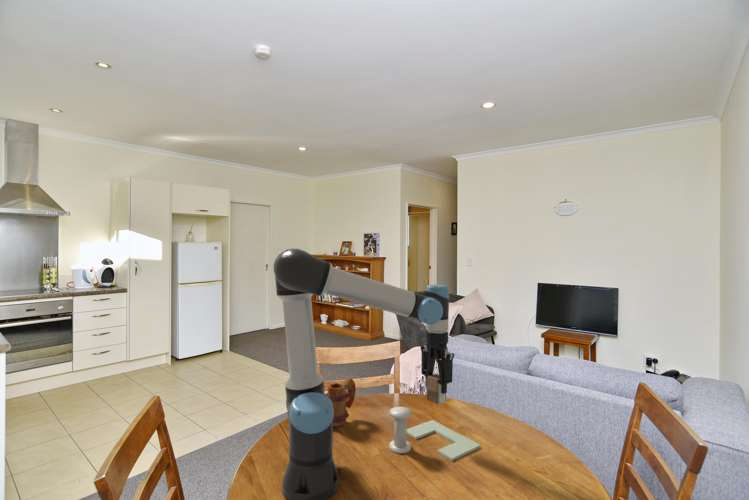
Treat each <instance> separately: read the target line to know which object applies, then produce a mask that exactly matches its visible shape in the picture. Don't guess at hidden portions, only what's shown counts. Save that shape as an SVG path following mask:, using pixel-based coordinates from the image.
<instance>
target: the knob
mask: <svg viewBox="0 0 749 500" xmlns="http://www.w3.org/2000/svg"><path fill="white" fill-rule="evenodd" d="M389 415H390V417H391V418H394V425H393V426H394V429H393V430H394V431H393V432H394V433H393V436H394V437H393V440H392V441H389V444H388V445H389V446H388V447H389V450H390V451H391V452H392V453H395V454H398V455H399V454H403V455H405V454H407V453H409V452H410V451H411V450H412V444H411V442H410V441H408V440H407V437H408V436H407V435H408V434H407V429H408V427H407V426H408V419H409V418H411V417H412V415H413V414H412V409H410V408H408V407H405V406H395V407H392V408H391V409H390V410H389Z"/></svg>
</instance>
